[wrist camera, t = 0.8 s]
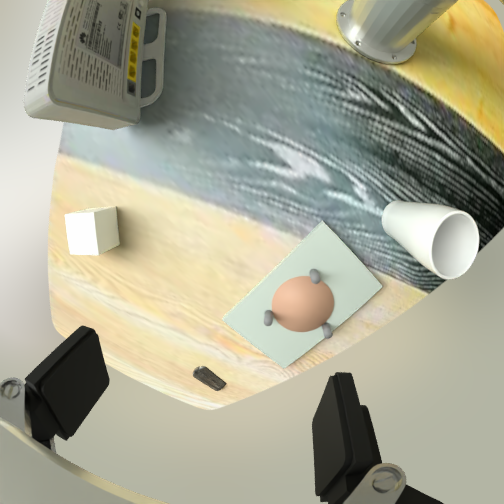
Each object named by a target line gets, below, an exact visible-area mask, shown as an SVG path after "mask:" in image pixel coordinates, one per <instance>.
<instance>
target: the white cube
mask: <svg viewBox="0 0 504 504" xmlns="http://www.w3.org/2000/svg"><path fill="white" fill-rule="evenodd" d="M65 221H66V230H67V237H68V244H69V251H70V254H77V255H100V254H102V253H104V252H106V251H108V250H110V249H112V248H114V247H116V246H118V245H120V241H119V232H118V222H117V210H116V206H114V207H100V208H88V209H84V210H80V211H76V212H72V213H69V214H65Z"/></svg>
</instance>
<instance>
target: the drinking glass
mask: <svg viewBox="0 0 504 504" xmlns="http://www.w3.org/2000/svg"><path fill="white" fill-rule="evenodd" d="M382 226H383V229H384V231H385V232H386V233H387V234H388V235H389V236H390V237H392V238H393V239H395V240H396V241H397V242H398V243H399V244H400V245H401V246H402V247H403V248H404V249H405V250H407V251H408V252H409V253H410V254H411V255H412V256H413V257H414V258H415V259H416V260H417V261H418V262H419V263H420V264H422V265H423V266H424V267H426V268H427V269H428V270H430V271H431V272H433V273H434V274H436V275H438V276H439V277H441V278H443V279H448V280H451V279H456V278H458V277H460V276H462V275H463V274H464V273H465V272H467V270H468V269H469V268H470V267H471V265H472V264H473V262H474V260H475V258H476V255H477V252H478V247H479V232H478V228H477V225H476V223H475V221H474V220H473V218H472V217H471V216H470V215H469V214H468V213H466V212H464V211H461V210H458V209H455V208H452V207H449V206H445V205H440V204H431V203H417V202H406V201H402V200H396V201H393V202H391V203H389V204H388V205H387V206H386V208H385V209H384V211H383V214H382Z"/></svg>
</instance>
